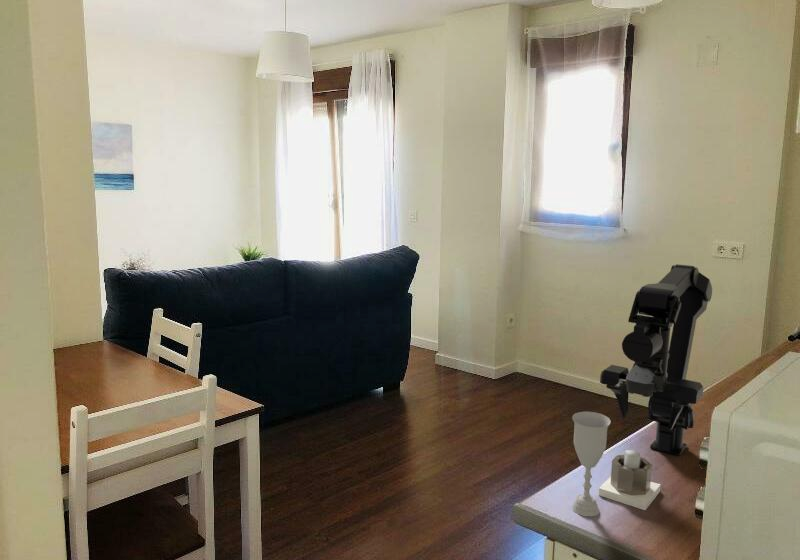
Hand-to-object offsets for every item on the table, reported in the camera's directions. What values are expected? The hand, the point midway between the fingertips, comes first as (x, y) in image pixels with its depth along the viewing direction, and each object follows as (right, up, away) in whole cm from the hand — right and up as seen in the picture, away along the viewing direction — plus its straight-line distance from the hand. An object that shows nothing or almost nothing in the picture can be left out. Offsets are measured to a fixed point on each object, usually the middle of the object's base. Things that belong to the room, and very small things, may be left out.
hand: (647, 423), depth 131 cm
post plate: (-5, -13, -4) cm, 14 cm away
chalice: (-15, -14, -10) cm, 23 cm away
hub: (-5, -11, -4) cm, 13 cm away
